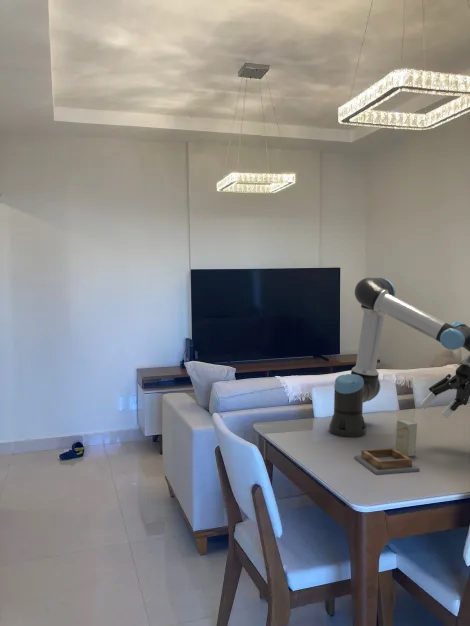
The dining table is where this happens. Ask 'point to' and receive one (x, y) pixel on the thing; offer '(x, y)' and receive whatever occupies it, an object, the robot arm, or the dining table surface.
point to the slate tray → (385, 471)
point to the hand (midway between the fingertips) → (433, 411)
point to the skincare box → (406, 437)
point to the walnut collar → (398, 462)
